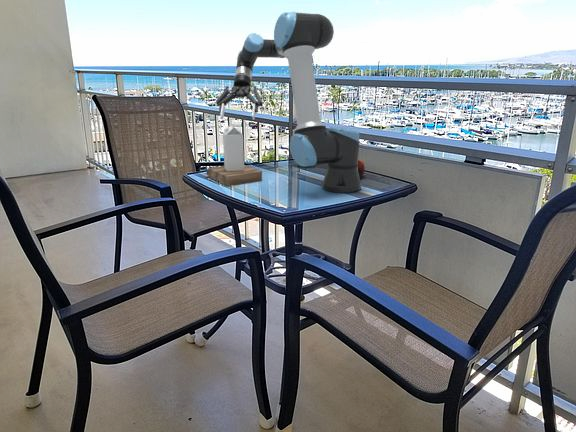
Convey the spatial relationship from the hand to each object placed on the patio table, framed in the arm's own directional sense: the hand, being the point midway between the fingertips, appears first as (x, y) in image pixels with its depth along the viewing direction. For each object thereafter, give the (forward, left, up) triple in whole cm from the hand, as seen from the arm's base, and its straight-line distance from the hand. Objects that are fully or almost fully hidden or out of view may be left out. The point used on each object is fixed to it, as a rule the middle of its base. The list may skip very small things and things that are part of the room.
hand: (237, 117), depth 178 cm
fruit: (-34, -38, -25) cm, 56 cm away
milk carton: (-8, +6, -20) cm, 23 cm away
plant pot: (-4, -34, -25) cm, 42 cm away
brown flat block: (-8, +6, -24) cm, 26 cm away
